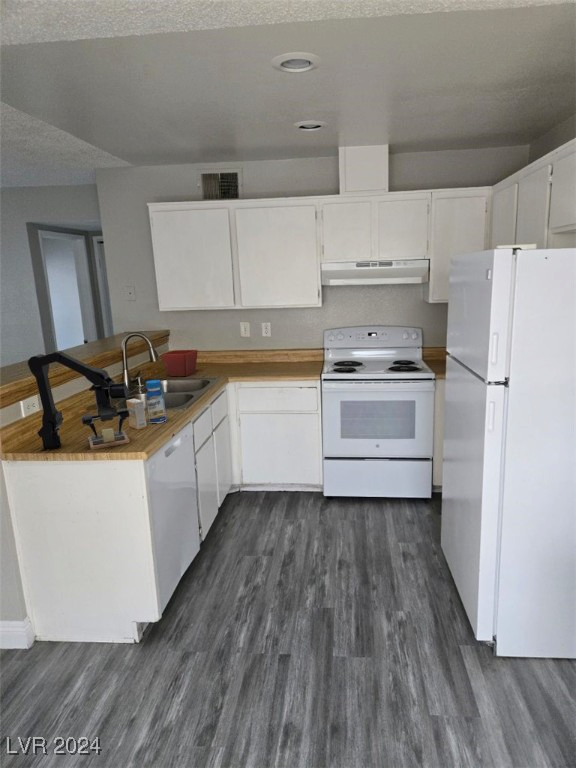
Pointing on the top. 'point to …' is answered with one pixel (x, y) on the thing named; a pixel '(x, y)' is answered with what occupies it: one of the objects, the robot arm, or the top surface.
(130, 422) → the supplement box
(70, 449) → the top surface
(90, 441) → the rail frame
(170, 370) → the plant pot
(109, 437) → the pale yellow block
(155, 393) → the beverage bottle
